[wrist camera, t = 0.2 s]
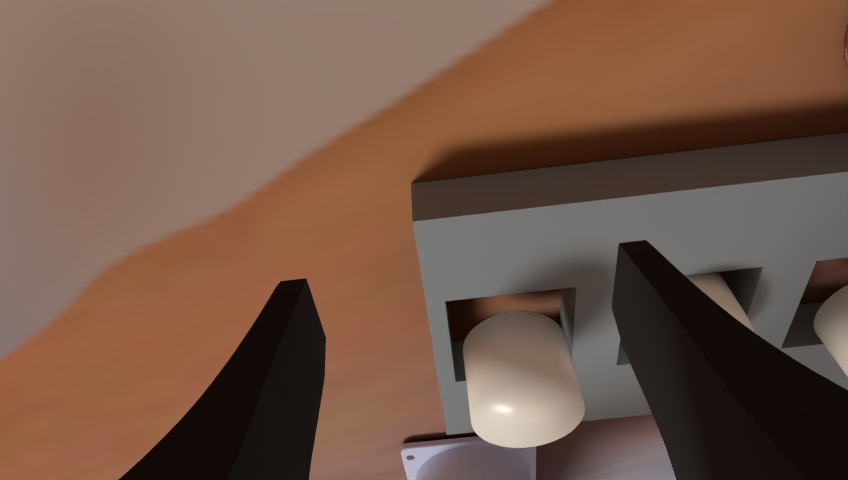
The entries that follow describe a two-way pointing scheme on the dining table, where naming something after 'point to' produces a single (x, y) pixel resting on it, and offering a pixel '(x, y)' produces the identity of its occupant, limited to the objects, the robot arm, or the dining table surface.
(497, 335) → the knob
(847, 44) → the supplement bottle
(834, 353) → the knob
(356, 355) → the dining table surface
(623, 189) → the console
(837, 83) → the dining table surface
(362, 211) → the dining table surface
